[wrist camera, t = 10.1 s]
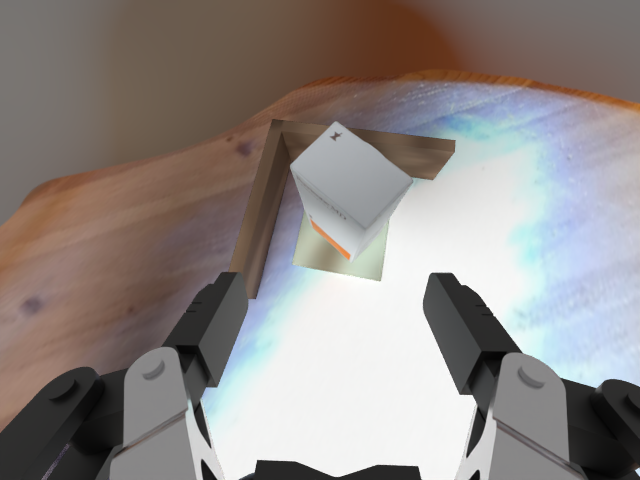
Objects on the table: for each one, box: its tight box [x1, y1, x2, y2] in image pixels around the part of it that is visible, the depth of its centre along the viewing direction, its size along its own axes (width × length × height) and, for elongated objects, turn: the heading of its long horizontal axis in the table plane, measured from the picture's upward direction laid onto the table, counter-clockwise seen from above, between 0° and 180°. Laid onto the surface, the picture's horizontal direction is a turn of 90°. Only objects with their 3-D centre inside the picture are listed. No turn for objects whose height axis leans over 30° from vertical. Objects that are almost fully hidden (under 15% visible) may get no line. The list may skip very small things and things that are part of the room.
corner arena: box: [228, 119, 456, 299], centre depth 23 cm, size 17×17×5 cm
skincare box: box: [290, 121, 413, 263], centre depth 19 cm, size 6×4×12 cm
